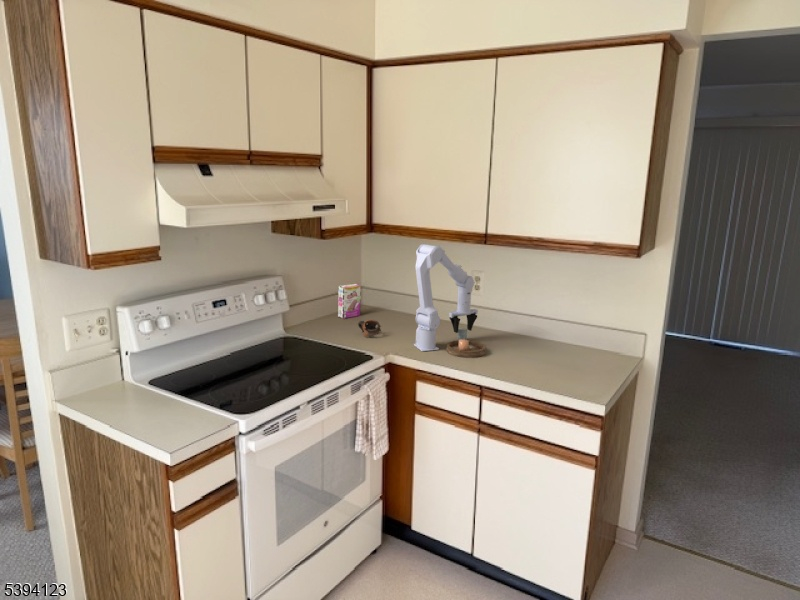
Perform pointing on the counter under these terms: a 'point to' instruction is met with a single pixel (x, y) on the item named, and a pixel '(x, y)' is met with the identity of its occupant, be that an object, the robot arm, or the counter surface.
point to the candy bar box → (349, 301)
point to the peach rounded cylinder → (463, 345)
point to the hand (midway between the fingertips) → (462, 331)
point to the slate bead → (462, 333)
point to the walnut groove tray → (473, 349)
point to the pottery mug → (369, 327)
